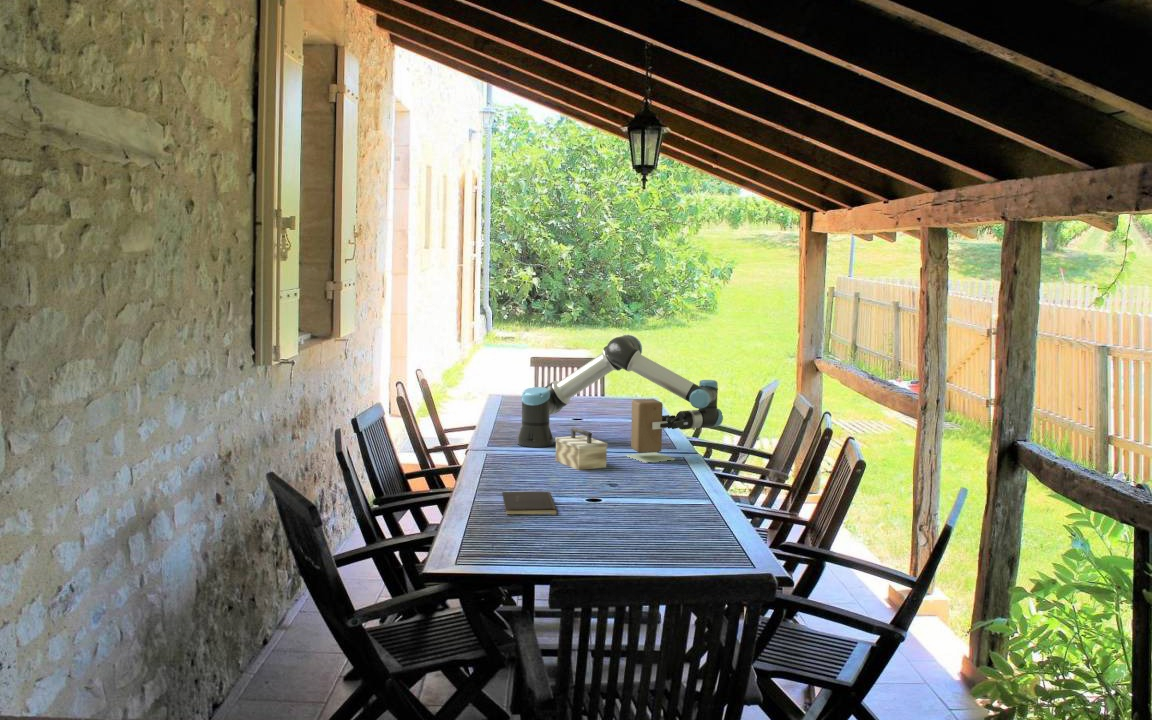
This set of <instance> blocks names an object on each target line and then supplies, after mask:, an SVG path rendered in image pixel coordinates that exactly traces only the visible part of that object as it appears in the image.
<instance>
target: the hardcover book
mask: <svg viewBox="0 0 1152 720" xmlns="http://www.w3.org/2000/svg"><path fill="white" fill-rule="evenodd" d="M501 494H502V498H503V499H502V500H503V504H504V509H505V512H506V515H507V514H544V513H546V514H548V513H550V514H552V515H558V509H557V506H556V504H555V501H554V499H553V496H552V494H551V492H550V491H502V493H501Z"/></svg>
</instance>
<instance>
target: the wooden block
mask: <svg viewBox="0 0 1152 720" xmlns="http://www.w3.org/2000/svg"><path fill="white" fill-rule="evenodd" d="M663 408H664V407H663V402H661V401H659V400H657V399H655V398H635V399H632V401H631V432H630V433H631V434H630V435H631V436H630V439H631V441H630V448H631V449H632V450H634V451H636V452H637V454H642V453H652V452H656V453H661V452H662V446H663V445H662V441H663V438H662V437H663V429H654V430H653V429H652V422H662V416H663Z"/></svg>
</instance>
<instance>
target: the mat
mask: <svg viewBox="0 0 1152 720" xmlns="http://www.w3.org/2000/svg"><path fill="white" fill-rule="evenodd" d="M626 456H627V457H626ZM625 457H626V458H629V457H630V458H629V459H632V458H633V459H632V460H635V459H636V460H635V461H638V460H639V461H638V462H641V461H642V462H641V463H644V462H645V464H649V463H648V462H652V463H660V462H659V461H661V462H668V461H667V460H671V461H676V458H675V457H671V456H667V455H665V454H661V453H660V452H651V453H634V454H625Z"/></svg>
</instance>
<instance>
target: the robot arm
mask: <svg viewBox="0 0 1152 720" xmlns="http://www.w3.org/2000/svg"><path fill="white" fill-rule="evenodd" d="M621 370H625V371H626V372H634V373H635V374H637V375H639V376H640V377H643V378H644V379H646V380H648V381H650V382H652V383H654V384H655V385H658V386H659V387H661V388H663V389H664V390H667V391H668V392H670V393H672V394H674V395H676V396H678V397H680V398H682V399H684V400H685V401H687V402H688V403H690V405H691V406H692V407H693V408H694V409H690V410H679V411H678V412H677V413H676V415H675V414H674V415H673V414H672V415H669V414H666V415H662V422H652V429H653V430H654V429H662V430H663V429H672V430H676V429H680V430H681V431H683V430H693V431H695V430H696V429H702V428H704V429H705V428H714V427H719V426H720V425H722V423H723V420H724V415H723V412H722V410H721V409H720V408H718V394H719V393H718V392H719V388H718V387H719V385H718V384H719V383H718V381H717V380H715V379H701V380H699V384H695V382H693V381H691V380H689V379H687V378H685V377H683V376H682V375H679V374H678V373H676V372H674V371H672V370H670V369H668V368H667V367H665V366H663V365H661V364H659V363H657V362H656V361H654V360H653V359H652V360H651V359H650V358H649V357H647V356H645V355H643V345H642V343H641V341H640V340H639V339H638V338H637V337H636V336H634V335H633V334H632V335H630V334H625V335H624V334H623V335H622V336H617V337H614V338H612V339H611V340H610V341H608V343H607V344H606V346H605V347H603V348H602V353H600V354H599V355H597V356H596V357H594V358H592V359H591V360H590V361H589V362H586V363H585V364H584V365H582V366H581V367H579V368H577V369H576V370H575V371H574V372H572V373H570V374H569V375H567V376H566V377H565V378H563V379H561V380H553V381H552V382H551V383H549V384H547V385H546V386H544V387H542V386H535V387H528V388H526V389H524V390H523V392H522V397H521V427H520V430H519V433H518V435H517V445H518V444H519V445H518V446H521V445H522V447H526V446H527V447H526V448H545V447H551V446H553V445H554V437H553V434H552V430H551V428H550V416H552V415H554V414H557V413H559V412H560V411H561V410H562V409H563V408H564V407H566V406H567V405H568V404H570V401H571V398H573V397H574V396H576V395H578V394H579V393H580V392H582V391H583V390H585V389H587V388H588V387H590V386H591V385H593V384H594V383H595V382H597V381H599V380H600V379H602V378H604V377H605V376H607V375H608V374H610V373H611V372H613V371H618V372H619V371H621Z"/></svg>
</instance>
